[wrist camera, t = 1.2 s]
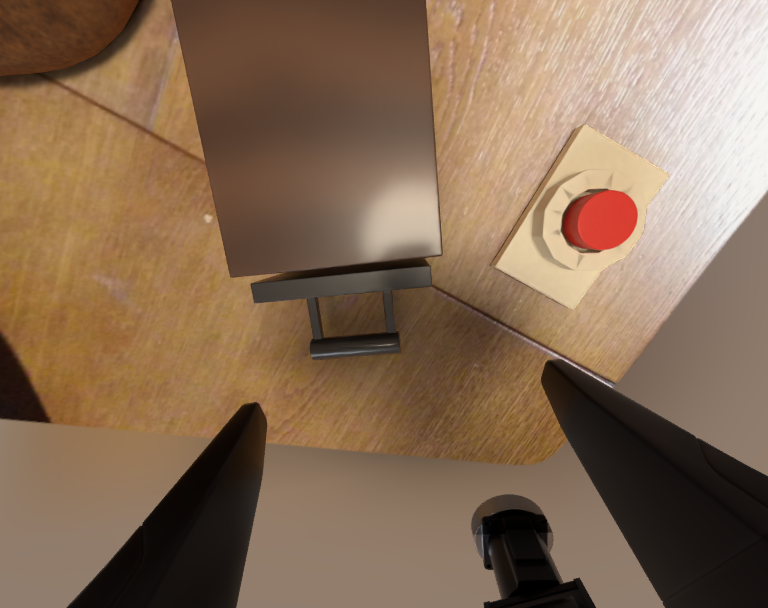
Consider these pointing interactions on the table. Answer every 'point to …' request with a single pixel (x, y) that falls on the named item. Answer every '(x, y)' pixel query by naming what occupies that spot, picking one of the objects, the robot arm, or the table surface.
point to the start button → (601, 220)
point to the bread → (57, 32)
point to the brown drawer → (344, 283)
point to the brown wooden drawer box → (315, 129)
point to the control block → (550, 204)
